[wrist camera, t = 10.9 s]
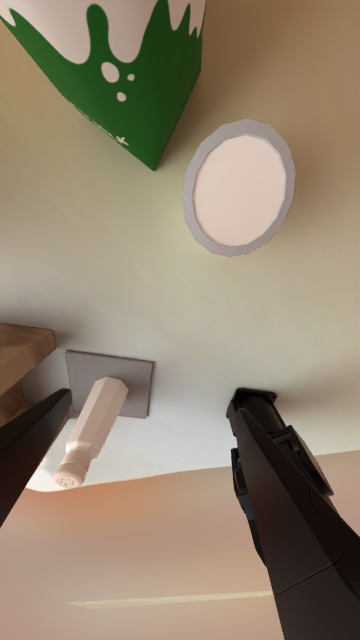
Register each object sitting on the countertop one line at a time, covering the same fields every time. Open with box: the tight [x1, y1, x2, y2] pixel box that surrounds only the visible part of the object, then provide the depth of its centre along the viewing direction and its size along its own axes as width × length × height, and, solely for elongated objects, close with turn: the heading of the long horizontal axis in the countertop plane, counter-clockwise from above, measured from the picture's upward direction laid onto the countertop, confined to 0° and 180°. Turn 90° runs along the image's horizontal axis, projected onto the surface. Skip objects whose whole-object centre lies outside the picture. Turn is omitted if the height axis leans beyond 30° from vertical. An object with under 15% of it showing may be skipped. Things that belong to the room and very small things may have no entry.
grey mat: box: [65, 351, 153, 419], centre depth 26 cm, size 12×12×1 cm
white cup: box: [181, 118, 296, 257], centre depth 13 cm, size 7×7×7 cm
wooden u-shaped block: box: [0, 323, 68, 477], centre depth 22 cm, size 10×18×8 cm, turn 171°
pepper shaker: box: [54, 377, 128, 488], centre depth 21 cm, size 5×5×11 cm
